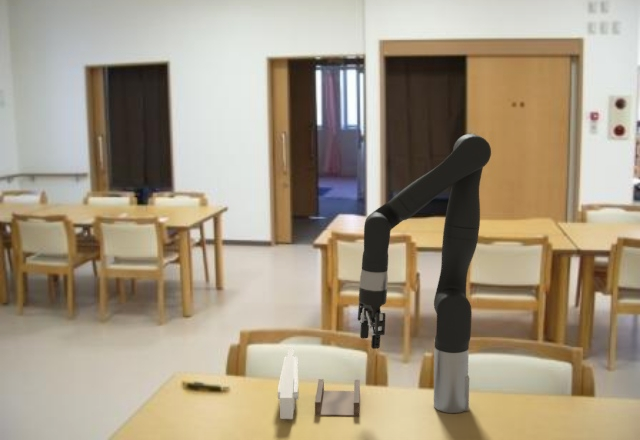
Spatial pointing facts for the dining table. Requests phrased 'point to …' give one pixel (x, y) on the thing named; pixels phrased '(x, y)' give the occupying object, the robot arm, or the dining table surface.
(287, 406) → the shelf bracket
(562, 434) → the dining table surface
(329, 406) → the walnut channel
